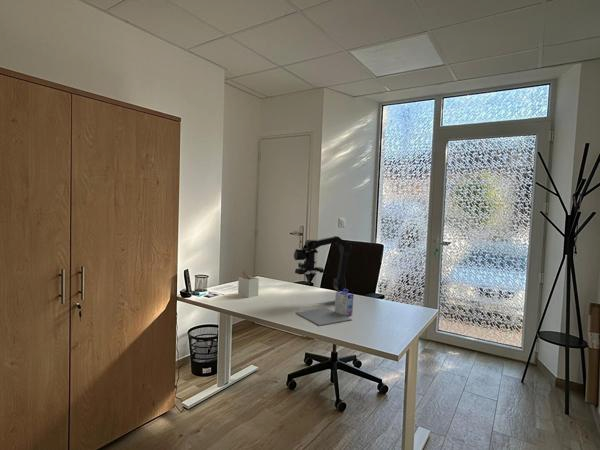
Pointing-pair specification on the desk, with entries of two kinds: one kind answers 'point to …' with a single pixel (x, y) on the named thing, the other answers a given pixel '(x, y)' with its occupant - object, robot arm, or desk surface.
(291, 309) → the desk surface
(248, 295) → the white box
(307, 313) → the mat
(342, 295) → the ink cartridge box
